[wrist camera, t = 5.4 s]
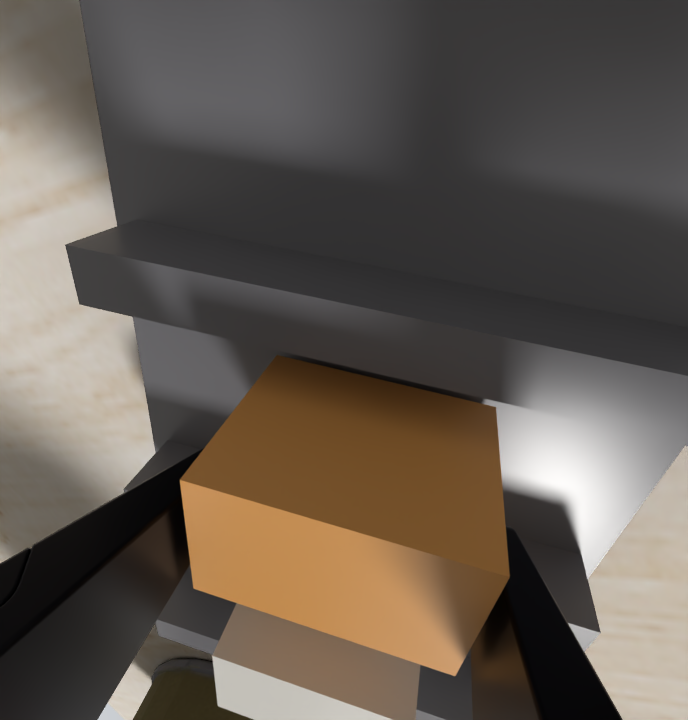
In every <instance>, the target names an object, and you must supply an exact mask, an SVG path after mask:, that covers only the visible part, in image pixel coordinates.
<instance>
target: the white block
mask: <svg viewBox="0 0 688 720" xmlns="http://www.w3.org/2000/svg"><path fill="white" fill-rule="evenodd" d="M212 659H213V668H214V677H215V686H216V695H217V704H218V706H219V707H221V708H224V709H227V710H229V711H232V712H235V713H238V714H240V715H243V716H246V717H248V718H251V719H254V720H416V708H417V697H418V686H419V675H420V664H417V663H414V662H411V661H408V660H405V659H402V658H399V657H396V656H393V655H390V654H387V653H384V652H381V651H378V650H375V649H372V648H369V647H366V646H363V645H360V644H357V643H354V642H351V641H348V640H345V639H342V638H339V637H336V636H333V635H330V634H327V633H324V632H321V631H318V630H315V629H312V628H310V627H307V626H304V625H301V624H298V623H295V622H292V621H289V620H286V619H283V618H280V617H277V616H274V615H271V614H268V613H265V612H262V611H259V610H256V609H253V608H250V607H247V606H244V605H241V604H238V603H236V606H235V608H234V610H233V612H232V614H231V616H230V619H229V621H228V623H227V625H226V627H225V629H224V631H223V634H222V636H221V638H220V640H219V642H218V644H217V646H216V649H215V651H214V653H213V655H212Z"/></svg>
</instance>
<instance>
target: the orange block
mask: <svg viewBox="0 0 688 720" xmlns="http://www.w3.org/2000/svg"><path fill="white" fill-rule="evenodd" d="M180 486H181V494H182V502H183V510H184V518H185V526H186V534H187V541H188V549H189V557H190V565H191V573H192V581H193V589H196V590H199V591H202V592H205V593H208V594H211V595H214V596H217V597H220V598H223V599H226V600H229V601H232V602H235V603H238V604H241V605H244V606H247V607H250V608H253V609H256V610H259V611H262V612H265V613H268V614H271V615H274V616H277V617H280V618H283V619H286V620H289V621H292V622H295V623H298V624H301V625H304V626H307V627H310V628H312V629H315V630H318V631H321V632H324V633H327V634H330V635H333V636H336V637H339V638H342V639H345V640H348V641H351V642H354V643H357V644H360V645H363V646H366V647H369V648H372V649H375V650H378V651H381V652H384V653H387V654H390V655H393V656H396V657H399V658H402V659H405V660H408V661H411V662H414V663H417V664H420V665H423V666H426V667H429V668H432V669H435V670H438V671H441V672H444V673H447V674H450V675H453V676H456V674H457V672H458V670H459V668H460V667H461V665H462V663H463V661H464V659H465V658H466V656H467V654H468V652H469V650H470V648H471V647H472V645H473V643H474V641H475V639H476V638H477V636H478V634H479V632H480V630H481V629H482V627H483V625H484V623H485V621H486V619H487V618H488V616H489V614H490V612H491V610H492V609H493V607H494V605H495V603H496V601H497V600H498V598H499V596H500V594H501V592H502V590H503V589H504V587H505V585H506V583H507V581H508V580H509V578H510V574H509V561H508V549H507V537H506V524H505V512H504V500H503V487H502V475H501V463H500V450H499V438H498V426H497V413H496V407H494V406H490V405H485V404H481V403H477V402H473V401H469V400H464V399H460V398H456V397H452V396H448V395H443V394H439V393H435V392H431V391H427V390H422V389H418V388H414V387H410V386H406V385H401V384H397V383H393V382H389V381H385V380H380V379H376V378H372V377H368V376H364V375H359V374H355V373H351V372H347V371H343V370H338V369H334V368H330V367H326V366H322V365H317V364H313V363H309V362H305V361H301V360H296V359H292V358H288V357H284V356H279V355H276V357H275V358H274V359H273V361H272V362H271V363H270V364H269V366H268V367H267V368H266V370H265V371H264V372H263V373H262V375H261V376H260V377H259V379H258V380H257V381H256V382H255V384H254V385H253V386H252V388H251V389H250V390H249V391H248V393H247V394H246V395H245V397H244V398H243V399H242V400H241V402H240V403H239V404H238V406H237V407H236V408H235V409H234V411H233V412H232V413H231V415H230V416H229V417H228V418H227V420H226V421H225V422H224V424H223V425H222V426H221V427H220V429H219V430H218V431H217V433H216V434H215V435H214V436H213V438H212V439H211V440H210V442H209V443H208V444H207V445H206V447H205V448H204V449H203V451H202V452H201V453H200V454H199V456H198V457H197V458H196V460H195V461H194V462H193V463H192V465H191V466H190V467H189V469H188V470H187V471H186V472H185V474H184V475H183V476H182V478H181V479H180Z"/></svg>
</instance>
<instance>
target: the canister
mask: <svg viewBox="0 0 688 720" xmlns="http://www.w3.org/2000/svg"><path fill="white" fill-rule="evenodd" d="M133 720H254V719H251V718H248V717H246V716H243V715H240V714H238V713H235V712H232V711H229V710H227V709H224V708H221V707H219V706H218V704H217V695H216V686H215V677H214V668H213V662H209V661H204V660H200V659H172V660H170V661H168V662H166V663H164V664H162V665H159V666H158V667H157V669H156V670H155V672H154V674H153V676H152V685H151V687H150V689H149V691H148V693H147V695H146V696H145V698H144V700H143V702H142V704H141V706H140V707H139V709H138V711H137V713H136V715H135V717H134V718H133Z"/></svg>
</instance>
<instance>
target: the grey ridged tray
mask: <svg viewBox="0 0 688 720" xmlns="http://www.w3.org/2000/svg"><path fill="white" fill-rule="evenodd" d="M79 1H80V7H81V13H82V19H83V25H84V31H85V37H86V43H87V48H88V54H89V60H90V66H91V72H92V78H93V84H94V90H95V96H96V102H97V108H98V114H99V120H100V125H101V131H102V137H103V143H104V149H105V155H106V161H107V167H108V173H109V179H110V185H111V191H112V197H113V202H114V208H115V214H116V220H117V227H114V228H111V229H108V230H106V231H103V232H100V233H97V234H94V235H91V236H89V237H86V238H83V239H80V240H77V241H74V242H72V243H69V244H66V245H65V246H66V250H67V254H68V258H69V263H70V267H71V271H72V275H73V279H74V283H75V288H76V292H77V296H78V300H79V304H81V305H85V306H89V307H93V308H98V309H102V310H106V311H111V312H115V313H119V314H124V315H128V316H132V317H133V321H134V327H135V333H136V339H137V345H138V351H139V357H140V362H141V368H142V374H143V380H144V386H145V392H146V398H147V404H148V410H149V416H150V422H151V428H152V434H153V439H154V445H155V451H156V454H155V455H154V456H153V457H152V458H151V459H150V460H149V461H148V463H147V464H146V465H145V466H144V467H143V468H142V469H141V470H140V472H139V473H138V474H137V475H136V476H135V477H134V478H133V479H132V480H131V482H130V483H129V484H128V485H127V486H126V487H125V488H124V493H125V492H127V491H128V490H130V489H132V488H134V487H135V486H137V485H139V484H141V483H142V482H144V481H146V480H148V479H149V478H151V477H153V476H155V475H156V474H158V473H160V472H162V471H163V470H165V469H167V468H169V467H170V466H172V465H174V464H176V463H177V462H179V461H181V460H183V459H184V458H186V457H188V456H190V455H191V454H193V453H195V452H197V451H198V450H200V449H202V448H204V447H205V446H206V445H207V444H208V443H209V442H210V440H211V439H212V438H213V436H214V435H215V434H216V433H217V431H218V430H219V429H220V427H221V426H222V425H223V424H224V422H225V421H226V420H227V418H228V417H229V416H230V415H231V413H232V412H233V411H234V409H235V408H236V407H237V406H238V404H239V403H240V402H241V400H242V399H243V398H244V397H245V395H246V394H247V393H248V391H249V390H250V389H251V388H252V386H253V385H254V384H255V382H256V381H257V380H258V379H259V377H260V376H261V375H262V373H263V372H264V371H265V370H266V368H267V367H268V366H269V364H270V363H271V362H272V361H273V359H274V358H275V357H276V355H279V356H284V357H288V358H292V359H296V360H301V361H305V362H309V363H313V364H317V365H322V366H326V367H330V368H334V369H338V370H343V371H347V372H351V373H355V374H359V375H364V376H368V377H372V378H376V379H380V380H385V381H389V382H393V383H397V384H401V385H406V386H410V387H414V388H418V389H422V390H427V391H431V392H435V393H439V394H443V395H448V396H452V397H456V398H460V399H464V400H469V401H473V402H477V403H481V404H485V405H490V406H494V407H496V413H497V426H498V438H499V450H500V463H501V475H502V487H503V500H504V512H505V524H506V526H509V527H512V528H513V529H514V530H515V531H516V532H517V534H518V536H519V537H520V539H521V541H522V543H523V544H524V546H525V548H526V550H527V552H528V553H529V555H530V557H531V559H532V560H533V562H534V564H535V566H536V567H537V569H538V571H539V573H540V575H541V576H542V578H543V580H544V582H545V583H546V585H547V587H548V589H549V590H550V592H551V594H552V596H553V598H554V599H555V601H556V603H557V605H558V606H559V608H560V610H561V612H562V613H563V615H564V617H565V619H566V621H567V622H568V624H569V626H570V628H571V629H572V631H573V633H574V635H575V636H576V638H577V640H578V642H579V643H580V645H581V647H582V649H583V651H584V652H585V651H586V649H587V648H588V647H589V646H590V645H591V644H592V642H593V641H594V640H595V639H596V638H597V637H598V635H599V634H600V633H601V632H600V628H599V624H598V620H597V616H596V612H595V608H594V604H593V600H592V595H591V591H590V587H589V583H588V578H589V577H590V575H591V574H592V573H593V571H594V570H595V569H596V567H597V566H598V564H599V563H600V562H601V560H602V559H603V558H604V556H605V555H606V553H607V552H608V551H609V549H610V548H611V547H612V545H613V544H614V542H615V541H616V540H617V538H618V537H619V536H620V534H621V533H622V531H623V530H624V529H625V527H626V526H627V525H628V523H629V522H630V520H631V519H632V518H633V516H634V515H635V514H636V512H637V511H638V509H639V508H640V507H641V505H642V504H643V503H644V501H645V500H646V498H647V497H648V496H649V494H650V493H651V492H652V490H653V489H654V487H655V486H656V485H657V483H658V482H659V481H660V479H661V478H662V476H663V475H664V474H665V472H666V471H667V470H668V468H669V467H670V466H671V464H672V463H673V461H674V460H675V459H676V457H677V456H678V455H679V453H680V452H681V450H682V449H683V448H684V446H685V445H686V446H688V0H79ZM235 606H236V603H235V602H232V601H229V600H226V599H223V598H220V597H217V596H214V595H211V594H208V593H205V592H202V591H199V590H196V589H193V581H192V573H191V565H190V566H189V567H188V569H187V571H186V572H185V574H184V576H183V577H182V579H181V581H180V582H179V584H178V586H177V587H176V589H175V591H174V592H173V594H172V596H171V597H170V599H169V601H168V602H167V604H166V606H165V607H164V609H163V611H162V612H161V614H160V616H159V617H158V619H157V621H156V622H155V623H156V627H157V631H158V635H159V636H161V637H164V638H166V639H169V640H172V641H175V642H178V643H181V644H183V645H186V646H189V647H192V648H195V649H198V650H200V651H203V652H206V653H209V654H212V655H213V653H214V651H215V649H216V646H217V644H218V642H219V640H220V638H221V636H222V634H223V631H224V629H225V627H226V625H227V623H228V621H229V619H230V616H231V614H232V612H233V610H234V608H235ZM416 720H473V717H472V686H471V648H470V650H469V652H468V654H467V656H466V658H465V659H464V661H463V663H462V665H461V667H460V668H459V670H458V672H457V674H456V676H453V675H450V674H447V673H444V672H441V671H438V670H435V669H432V668H429V667H426V666H423V665H420V675H419V686H418V697H417V708H416Z"/></svg>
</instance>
